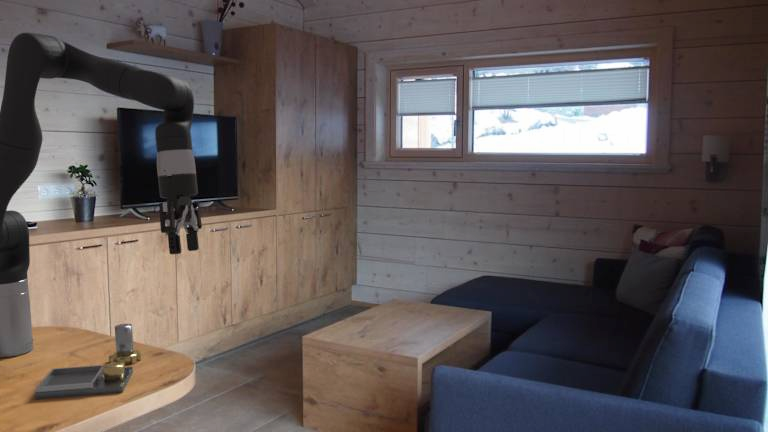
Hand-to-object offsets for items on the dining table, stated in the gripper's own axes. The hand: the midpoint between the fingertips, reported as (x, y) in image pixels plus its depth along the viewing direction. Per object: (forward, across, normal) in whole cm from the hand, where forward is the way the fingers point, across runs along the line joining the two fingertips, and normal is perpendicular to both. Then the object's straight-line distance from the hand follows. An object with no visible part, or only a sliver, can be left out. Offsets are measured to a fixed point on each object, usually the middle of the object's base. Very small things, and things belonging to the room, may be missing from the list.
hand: (184, 252), depth 134 cm
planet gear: (+24, -10, -21) cm, 33 cm away
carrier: (+25, +4, -22) cm, 33 cm away
